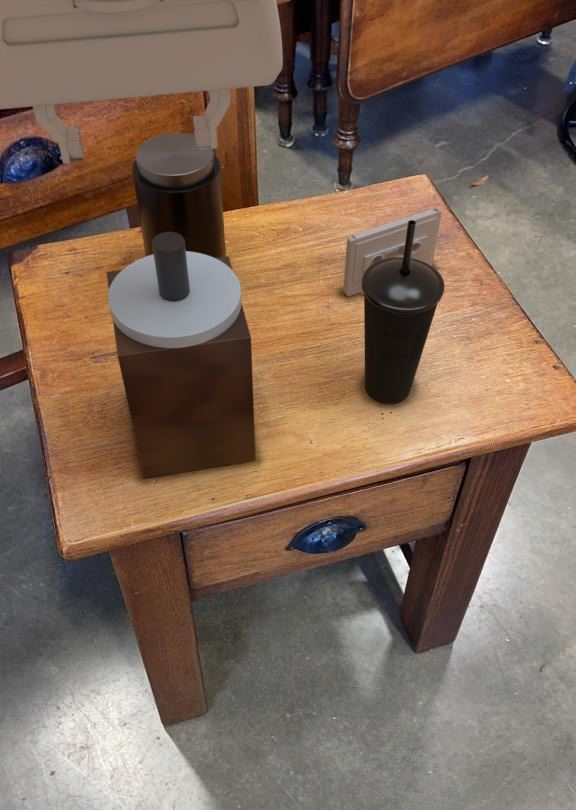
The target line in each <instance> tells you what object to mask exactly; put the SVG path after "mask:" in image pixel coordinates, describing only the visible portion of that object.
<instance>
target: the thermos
mask: <svg viewBox="0 0 576 810" xmlns="http://www.w3.org/2000/svg"><path fill="white" fill-rule="evenodd" d="M221 171H222V170H221V163H220V160H219V158H218V156H217V155H216V154H215V153H214V149H207V150H197V145H196V142H195V134H191V133H186V132H170V133H169V132H168V133H163V134H160V135H156V136H153V137H151V138H149V139H147V140H146V141H144V142H143V143H142V144H140V146H139V147H138V148H137V151H136V154H135V160H134V162H133V164H132V168H131V173H132V180H133V185H134V192H135V199H136V203H137V205H136V206H137V211H138V217H139V218H138V219H139V224H140V228H141V236H142V243H143V248H144V255H145V256H144V257H147V256H150V255H153V248H152V241H153V239H154V237H156V236H157V235H159V234H161V233H165V232H174V233H178V234H180V235H181V236H182V237H183V238H184V240H185V249H186V251H188V252H196V253H201V254H205V255H208V256H211V257H213V258H218V257H226V256H227V250H226V249H227V248H226V234H225V220H224V219H225V218H224V203H223V188H222V187H223V186H222V174H221V173H222V172H221Z"/></svg>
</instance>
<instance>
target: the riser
mask: <svg viewBox="0 0 576 810" xmlns="http://www.w3.org/2000/svg"><path fill="white" fill-rule="evenodd" d="M215 259H218V260H220V261H221V262H223V263H224V264H226V265H227V266H228V267H229V268H231V270H232V271H233V272H234V270H233V268H232V263H231V260H230V256H228V255H226V257H218V258H215ZM122 270H123V269H117V270H109V271H106V280H107V288H108V290H109V289H110V286H111V284H112V282H113V280H114V279H115V277H116V276H117V275H118V274H119V273H120V272H121V271H122ZM242 303H243V302H241V309H240V312H239V314H238V317H237V318H236V320H235V321H234V323H233V324H232V325H231V326H230V327H229V328H228V329H227V330H226V331H225V332H223V333H222V334H220V335H219V336H217V337H215V338H213V339H211V340H209V341H206V342H204V343H201V344H197V345H194V346H189V347H181V348H161V347H154V346H149V345H146V344H142V343H140V342H137V341H135V340H133V339H131V338H130V337H128V336H127V335H125V334H124V333H123V332H122V331H121V330H120V329H119V328H118V327H117V326H116V324H115V323H114V321H113V320H112V325H113V332H114V339H115V347H116V354H117V359H118V365H119V369H120V374H121V379H122V383H123V388H124V393H125V396H126V401H127V406H128V410H129V411H128V412H129V416H130V419H131V420H130V421H131V425H132V430H133V434H134V439H135V443H136V448H137V453H138V457H139V462H140V466H141V471H142V475H143V479H149V478H156V477H162V476H169V475H174V474H175V475H176V474H180V473H188V472H194V471H199V470H206V469H213V468H218V467H219V468H220V467H225V466H231V465H238V464H243V463H250V462H256V460H257V457H256V456H257V455H256V432H255V431H256V429H255V428H256V427H255V406H254V405H255V404H254V382H253V381H254V380H253V355H252V353H253V352H252V350H253V349H252V336H251V331H250V329H249V325H248V321H247V318H246V314H245V311H244V307H243V304H242Z"/></svg>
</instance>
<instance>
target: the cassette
mask: <svg viewBox="0 0 576 810" xmlns="http://www.w3.org/2000/svg"><path fill="white" fill-rule="evenodd" d="M441 218H442V211H440V210H439V209H438V207H434V208H431V209H428V210H425V211H422V212H419V213H416V214H413V215H409V216H406V217H403V218H400V219H397V220H394V221H391V222H388V223H385V224H382V225H379V226H376V227H373V228H370V229H367V230H363V231H360V232H357V233H354V234H351V235H349V236H348V237H347V239H346V247H345V248H346V250H345V260H344V276H343V286H342V287H343V288H342V292H343V293H344V295H346V297H351V296H352V297H353V296H354V295H357V294H360V295H364V293H363V290H362V285H361V283H362V277H363V274H364V272H365V271H366V270H367V268H368V267H369V266H371V265H372V264H374V263H375V262H377V261H380V260H383V259H386V258H392V257H403V254H404V248H405V241H406V234H407V227H408V221H410V220H414V221H415V222H416V226H415V233H414V239H413V246H412V252H411V258H413V259H417V260H420V261H423V262H425V263H427V264H429V265H431V266H432V267H433V264H434V257H435V251H436V247H437V240H438V237H439V236H438V235H439V230H440V224H441Z"/></svg>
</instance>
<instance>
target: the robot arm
mask: <svg viewBox="0 0 576 810" xmlns="http://www.w3.org/2000/svg"><path fill="white" fill-rule="evenodd" d="M282 38H283V37H282V30H281V21H280V15H279V9H278V3H277V0H0V110H7V109H9V110H10V109H19V108H21V109H22V108H31V107H32V109H33V115H34V118H35V121H36V122H37V124H38V125H40V127H41V128H42V129H43V130H44V131H45V132H46V133H47V134H48V135H49V136H50V137H51V139H53V141H54V142H55V143H58V148H59V152H60V156H61V161H62V164H63V165H65V164H66V165H67V164H74V163H75V164H76V163H84V162H85V157H84V156H85V152H84V146H83V142H82V137H81V130H80V127H79V126H71V127H67V126H66V124H65V123H64V122H63V121H62V119H61V118H60V117H59V116H58V114H57V105H63V104H64V105H65V104H75V103H86V102H97V101H108V100H119V99H132V98H140V97H141V98H142V97H152V96H153V97H154V96H164V95H176V94H185V93H186V94H187V93H196V92H207V93H208V97H209V102H208V104H207V105H206V108H205V111H204V113H203V114H200V115H193V116H192V122H193V123H192V124H193V129H194V131H193V133H194V134H193V135H195V142H196V145H197V150H207V149H213V150H216V149H218V148H219V147H218V145H219V144H218V131H217V128H218V127H219V126H220V124H221V123H222V120H223V118H224V117H225V115H226V113H227V111H228V109H229V108H230V106H231V104H232V97H231V95H232V94H231V89H243V88H253V87H264V86H269V85H270V86H271V85H272V84H273V83H274V82H275V81H276V79H277V77H278V76H279V75H280V73H281V72H282V70H283V65H284V64H283V63H284V61H283V60H284V57H283V56H284V55H283V40H282Z"/></svg>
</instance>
